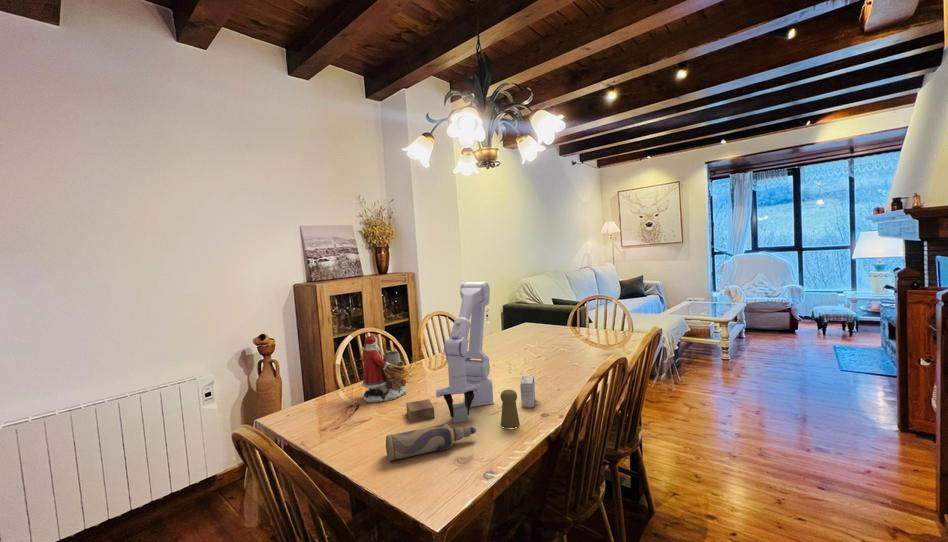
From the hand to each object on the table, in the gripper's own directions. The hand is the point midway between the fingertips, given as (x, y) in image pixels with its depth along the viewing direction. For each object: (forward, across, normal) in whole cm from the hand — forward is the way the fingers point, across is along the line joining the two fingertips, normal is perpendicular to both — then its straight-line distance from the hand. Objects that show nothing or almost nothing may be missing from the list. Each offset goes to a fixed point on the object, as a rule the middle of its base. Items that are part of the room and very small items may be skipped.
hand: (459, 415), depth 130 cm
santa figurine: (+2, -23, +32) cm, 39 cm away
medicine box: (+2, +26, +4) cm, 26 cm away
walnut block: (+2, -12, +8) cm, 15 cm away
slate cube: (+1, 0, 0) cm, 1 cm away
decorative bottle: (+2, -12, -17) cm, 21 cm away
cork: (+2, +14, -10) cm, 17 cm away
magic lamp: (+2, -17, +47) cm, 50 cm away
